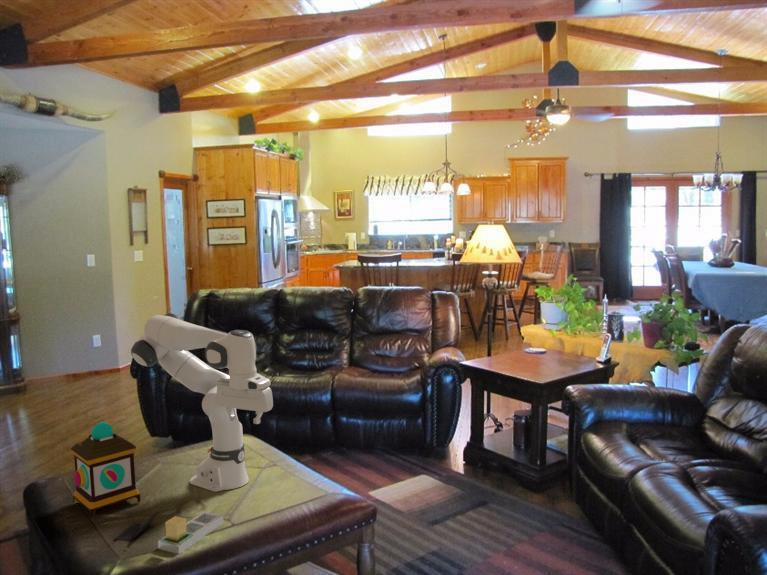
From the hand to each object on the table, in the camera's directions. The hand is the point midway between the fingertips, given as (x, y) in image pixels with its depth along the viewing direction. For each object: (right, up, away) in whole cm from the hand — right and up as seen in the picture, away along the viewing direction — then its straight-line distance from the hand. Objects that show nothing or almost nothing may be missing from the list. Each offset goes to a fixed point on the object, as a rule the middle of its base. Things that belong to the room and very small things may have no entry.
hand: (244, 421), depth 203 cm
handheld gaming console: (-34, -36, -3) cm, 49 cm away
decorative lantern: (-54, -34, +19) cm, 66 cm away
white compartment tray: (-15, -35, -6) cm, 39 cm away
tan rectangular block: (-18, -35, -12) cm, 41 cm away
